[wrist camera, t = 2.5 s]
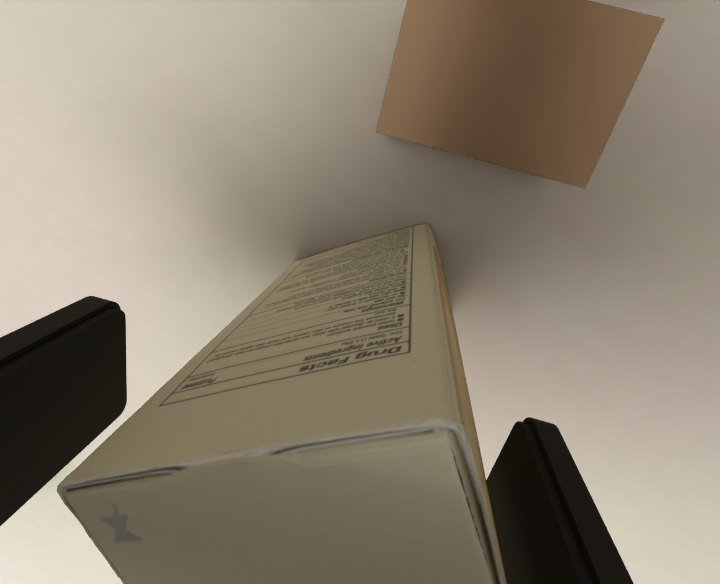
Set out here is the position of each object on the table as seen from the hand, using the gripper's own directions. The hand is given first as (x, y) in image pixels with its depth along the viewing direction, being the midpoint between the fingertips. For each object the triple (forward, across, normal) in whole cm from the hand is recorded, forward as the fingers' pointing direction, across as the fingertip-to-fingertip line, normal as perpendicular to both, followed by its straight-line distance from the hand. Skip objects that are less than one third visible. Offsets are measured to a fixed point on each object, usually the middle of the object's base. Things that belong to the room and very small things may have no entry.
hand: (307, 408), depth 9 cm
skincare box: (+9, -1, 0) cm, 9 cm away
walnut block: (+9, -3, -8) cm, 12 cm away
